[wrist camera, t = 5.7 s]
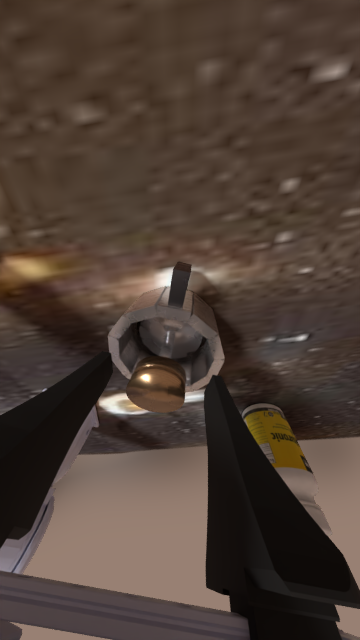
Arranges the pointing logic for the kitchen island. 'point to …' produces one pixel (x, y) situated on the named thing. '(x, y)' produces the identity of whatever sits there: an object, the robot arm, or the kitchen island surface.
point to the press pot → (176, 307)
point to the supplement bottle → (285, 456)
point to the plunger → (162, 365)
